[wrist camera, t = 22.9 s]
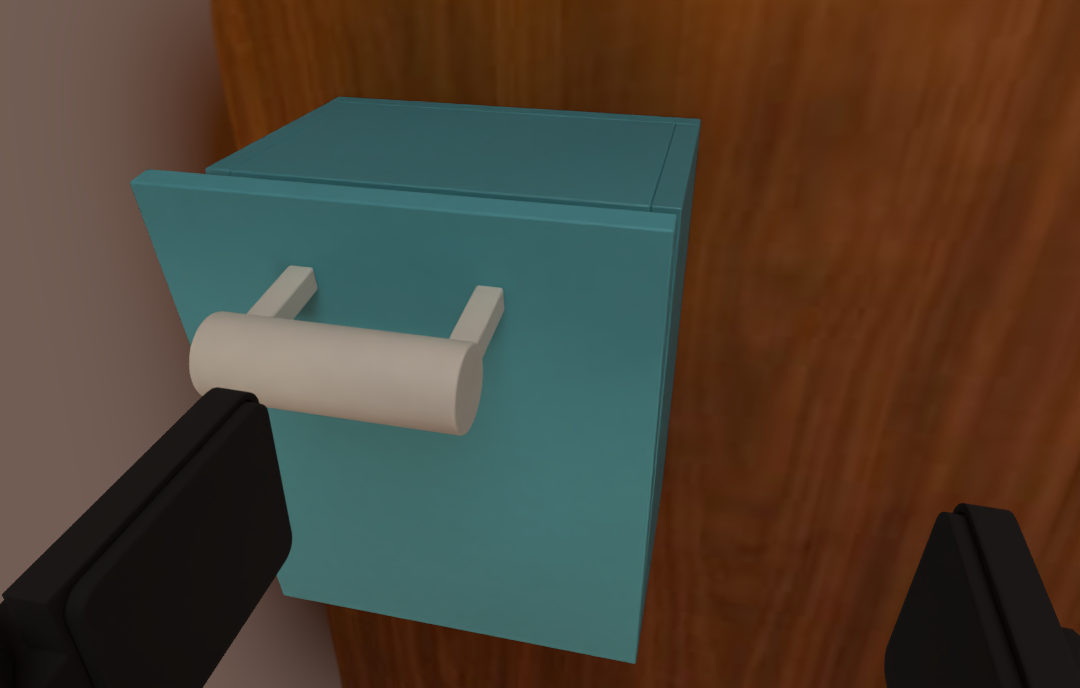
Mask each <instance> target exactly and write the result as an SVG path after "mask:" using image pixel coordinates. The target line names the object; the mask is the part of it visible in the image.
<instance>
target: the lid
mask: <svg viewBox="0 0 1080 688" xmlns="http://www.w3.org/2000/svg"><path fill="white" fill-rule="evenodd" d="M130 185H131V188H132V190H133V193H134V196H135V198H136V201H137V204H138V206H139V209H140V212H141V214H142V217H143V220H144V222H145V225H146V228H147V230H148V233H149V236H150V238H151V241H152V244H153V246H154V249H155V252H156V254H157V257H158V260H159V263H160V265H161V268H162V270H163V273H164V276H165V279H166V281H167V284H168V287H169V289H170V292H171V295H172V297H173V300H174V303H175V305H176V308H177V311H178V313H179V316H180V319H181V321H182V324H183V326H184V329H185V332H186V335H187V337H188V340H189V342H190V345H191V349H190V355H189V370H190V376H191V380H192V383H193V385H194V387H195V389H196V390H197V391H198V393H199V394H201V395H202V396H203V395H204V394H205V393H207V392H208V391H209V390H211V389H212V388H216V387H220V388H226V389H232V390H239V391H245V392H251V393H253V394H255V395H256V397H257V398H258V400H259V403H260V404H263V405H265V406H266V407H267V410H268V413H269V417H270V423H271V428H272V433H273V438H274V443H275V448H276V453H277V459H278V464H279V469H280V474H281V479H282V484H283V489H284V495H285V500H286V505H287V510H288V515H289V520H290V525H291V531H292V546H291V550H290V553H289V556H288V558H287V559H286V561H285V563H284V564H283V566H282V567H281V569H280V570H279V572H278V573H277V578H278V580H279V583H280V585H281V588H282V591H283V594H284V595H286V596H292V597H297V598H302V599H307V600H312V601H317V602H322V603H327V604H332V605H338V606H343V607H348V608H353V609H358V610H363V611H368V612H373V613H378V614H383V615H389V616H394V617H399V618H404V619H409V620H414V621H419V622H424V623H429V624H434V625H440V626H445V627H450V628H455V629H460V630H465V631H470V632H475V633H480V634H486V635H491V636H496V637H501V638H506V639H511V640H516V641H521V642H526V643H531V644H537V645H542V646H547V647H552V648H557V649H562V650H567V651H572V652H577V653H582V654H588V655H593V656H598V657H603V658H608V659H613V660H618V661H623V662H628V663H636V659H637V652H638V645H639V634H640V623H641V612H642V601H643V590H644V579H645V568H646V557H647V546H648V535H649V524H650V513H651V502H652V491H653V480H654V469H655V458H656V447H657V436H658V425H659V414H660V403H661V392H662V381H663V370H664V359H665V348H666V337H667V326H668V315H669V304H670V293H671V282H672V271H673V260H674V249H675V238H676V227H677V215H675V214H666V213H654V212H642V211H631V210H619V209H607V208H596V207H584V206H572V205H560V204H549V203H537V202H525V201H514V200H502V199H490V198H479V197H467V196H455V195H443V194H432V193H420V192H408V191H397V190H385V189H373V188H362V187H350V186H338V185H327V184H315V183H303V182H291V181H280V180H268V179H256V178H245V177H233V176H221V175H210V174H197V173H186V172H174V171H163V170H151V169H148V170H146V171H145V172H143V173H142V174H140V175H139V176H137V177H136V178H135V179H134V180H132V181H131V182H130Z"/></svg>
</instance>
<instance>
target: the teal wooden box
mask: <svg viewBox="0 0 1080 688" xmlns="http://www.w3.org/2000/svg"><path fill="white" fill-rule="evenodd" d="M700 126H701V120H700V119H692V118H676V117H659V116H643V115H627V114H611V113H595V112H579V111H563V110H547V109H531V108H515V107H498V106H482V105H466V104H450V103H434V102H418V101H402V100H386V99H370V98H354V97H337V98H336V99H334V100H332V101H330V102H328V103H326V104H325V105H323V106H321V107H319V108H317V109H315V110H313V111H311V112H310V113H308V114H306V115H304V116H302V117H300V118H298V119H297V120H295V121H293V122H291V123H289V124H287V125H285V126H284V127H282V128H280V129H278V130H276V131H274V132H272V133H270V134H269V135H267V136H265V137H263V138H261V139H259V140H257V141H256V142H254V143H252V144H250V145H248V146H246V147H244V148H243V149H241V150H239V151H237V152H235V153H233V154H231V155H230V156H228V157H226V158H224V159H222V160H220V161H218V162H216V163H215V164H213V165H211V166H209V167H207V168H206V174H210V175H221V176H233V177H245V178H256V179H268V180H280V181H291V182H303V183H315V184H327V185H338V186H350V187H362V188H373V189H385V190H397V191H408V192H420V193H432V194H443V195H455V196H467V197H479V198H490V199H502V200H514V201H525V202H537V203H549V204H560V205H572V206H584V207H596V208H607V209H619V210H631V211H642V212H654V213H666V214H675V215H677V227H676V238H675V249H674V260H673V271H672V282H671V293H670V304H669V315H668V326H667V337H666V348H665V359H664V370H663V381H662V392H661V403H660V414H659V425H658V436H657V447H656V458H655V469H654V480H653V491H652V502H651V513H650V524H649V535H648V546H647V557H646V568H645V579H644V590H643V601H642V612H641V623H640V632H641V625H642V618H643V612H644V605H645V598H646V591H647V585H648V578H649V571H650V565H651V558H652V551H653V544H654V538H655V531H656V524H657V517H658V511H659V504H660V497H661V490H662V483H663V473H664V464H665V455H666V445H667V436H668V426H669V417H670V408H671V398H672V389H673V379H674V370H675V361H676V351H677V342H678V332H679V323H680V314H681V304H682V295H683V285H684V276H685V267H686V257H687V248H688V238H689V229H690V220H691V210H692V201H693V192H694V182H695V173H696V163H697V154H698V145H699V135H700ZM639 639H640V634H639Z"/></svg>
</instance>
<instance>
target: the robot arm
mask: <svg viewBox="0 0 1080 688" xmlns="http://www.w3.org/2000/svg"><path fill="white" fill-rule="evenodd" d="M291 546H292V531H291V525H290V520H289V515H288V510H287V505H286V500H285V495H284V489H283V484H282V479H281V474H280V469H279V464H278V459H277V453H276V448H275V443H274V438H273V433H272V428H271V423H270V417H269V413H268V410H267V407H266V406H265V405H263V404H260V403H259V400H258V398H257V397H256V395H255V394H253V393H251V392H245V391H239V390H232V389H226V388H220V387H216V388H212V389H211V390H209V391H208V392H207V393H205V394H204V395H203V396H202V397H201V398H200V399H199V400H198V401H197V402H196V403H195V404H194V406H192V407H191V408H190V410H188V411H187V412H186V413H185V414H184V415H183V416H182V417H181V418H180V419H179V420H178V421H177V422H176V423H175V424H174V425H173V426H172V427H171V428H170V429H169V430H168V431H167V432H166V433H165V434H164V435H163V436H162V437H161V438H160V439H159V440H158V441H157V442H156V443H155V444H154V445H153V446H152V447H151V448H150V449H149V450H148V451H147V452H146V453H145V454H144V455H143V456H142V457H141V458H140V459H139V460H138V461H137V462H136V463H135V464H134V465H133V466H132V467H130V469H129V470H127V471H126V472H125V473H124V474H123V476H121V477H120V479H118V480H117V481H116V482H115V483H114V484H113V485H112V486H111V487H110V488H109V489H108V490H107V491H106V492H105V493H104V494H103V495H102V496H101V497H100V498H99V499H98V500H97V501H96V502H95V503H94V504H93V505H92V506H91V507H90V508H89V509H88V510H87V511H86V512H85V513H84V514H83V515H82V516H81V517H80V518H79V519H78V520H77V521H76V522H75V523H74V524H73V525H72V526H71V527H70V528H69V529H68V530H67V531H66V532H65V533H64V534H63V535H62V536H61V537H60V538H59V539H58V540H57V541H56V542H54V544H52V545H51V546H50V547H49V548H48V549H47V550H46V551H45V552H44V554H42V555H41V556H40V558H38V559H37V560H36V561H35V562H34V563H33V564H32V565H31V566H30V567H29V568H28V569H27V570H26V571H25V572H24V573H23V574H22V575H21V576H20V577H19V578H18V579H17V580H16V581H15V582H14V583H13V584H12V585H11V586H10V587H9V588H8V589H7V590H6V591H5V592H4V593H3V594H2V596H3V598H4V601H3V602H2V603H1V604H0V688H203V686H204V685H205V683H206V682H207V680H208V679H209V677H210V676H211V674H212V672H213V671H214V669H215V668H216V666H217V665H218V663H219V662H220V660H221V659H222V657H223V656H224V654H225V653H226V651H227V650H228V648H229V647H230V645H231V644H232V642H233V640H234V639H235V637H236V636H237V634H238V633H239V631H240V630H241V628H242V627H243V625H244V624H245V622H246V621H247V619H248V618H249V616H250V615H251V613H252V612H253V610H254V609H255V607H256V605H257V604H258V602H259V601H260V599H261V598H262V596H263V595H264V593H265V592H266V590H267V589H268V587H269V586H270V584H271V582H272V581H273V580H274V578H275V576H276V575H277V573H278V572H279V570H280V569H281V567H282V566H283V564H284V563H285V561H286V559H287V558H288V556H289V553H290V550H291ZM885 678H886V684H887V688H1080V636H1079V635H1078V634H1077V633H1076V632H1075V631H1074V630H1073V629H1068V628H1063V627H1061V626H1060V623H1059V621H1058V619H1057V616H1056V614H1055V611H1054V609H1053V607H1052V604H1051V602H1050V599H1049V597H1048V594H1047V592H1046V590H1045V587H1044V585H1043V582H1042V580H1041V578H1040V575H1039V573H1038V570H1037V568H1036V566H1035V563H1034V561H1033V558H1032V556H1031V553H1030V551H1029V549H1028V546H1027V544H1026V541H1025V539H1024V537H1023V534H1022V532H1021V529H1020V527H1019V525H1018V522H1017V520H1016V518H1015V516H1014V515H1013V513H1012V512H1010V511H1009V510H1003V509H997V508H990V507H984V506H977V505H971V504H965V503H962V504H959V505H957V506H956V507H955V509H954V511H953V513H948V512H941V513H940V514H939V515H938V517H937V519H936V522H935V524H934V527H933V529H932V532H931V535H930V537H929V540H928V542H927V545H926V547H925V550H924V553H923V555H922V558H921V560H920V563H919V565H918V568H917V571H916V573H915V576H914V578H913V581H912V583H911V586H910V589H909V591H908V594H907V596H906V599H905V601H904V604H903V607H902V609H901V612H900V614H899V617H898V619H897V622H896V625H895V627H894V630H893V632H892V635H891V638H890V640H889V643H888V645H887V649H886V654H885Z"/></svg>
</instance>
